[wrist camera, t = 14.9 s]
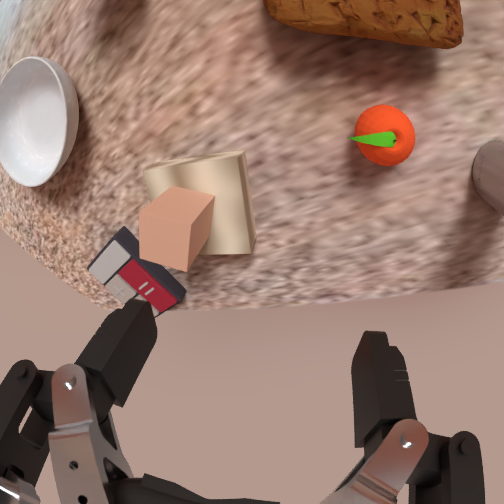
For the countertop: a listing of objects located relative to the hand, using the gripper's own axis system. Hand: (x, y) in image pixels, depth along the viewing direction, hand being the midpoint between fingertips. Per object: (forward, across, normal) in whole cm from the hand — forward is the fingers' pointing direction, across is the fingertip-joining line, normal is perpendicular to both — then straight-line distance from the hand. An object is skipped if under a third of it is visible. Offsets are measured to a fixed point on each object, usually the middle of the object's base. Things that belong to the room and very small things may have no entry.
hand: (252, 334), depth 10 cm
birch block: (+28, +10, +6) cm, 31 cm away
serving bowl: (+28, +38, -8) cm, 48 cm away
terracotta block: (+24, +11, +6) cm, 27 cm away
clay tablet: (+28, -7, -24) cm, 38 cm away
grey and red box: (+29, +24, +21) cm, 43 cm away
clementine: (+28, -10, -5) cm, 30 cm away
